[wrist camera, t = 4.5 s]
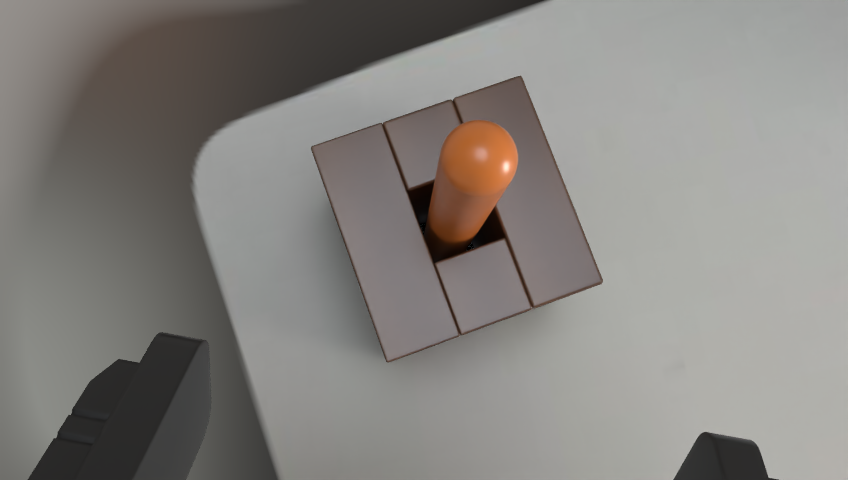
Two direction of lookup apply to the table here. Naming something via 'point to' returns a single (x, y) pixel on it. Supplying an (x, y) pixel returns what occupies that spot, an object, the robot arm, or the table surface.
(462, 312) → the pen holder
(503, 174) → the stylus
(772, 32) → the table surface
